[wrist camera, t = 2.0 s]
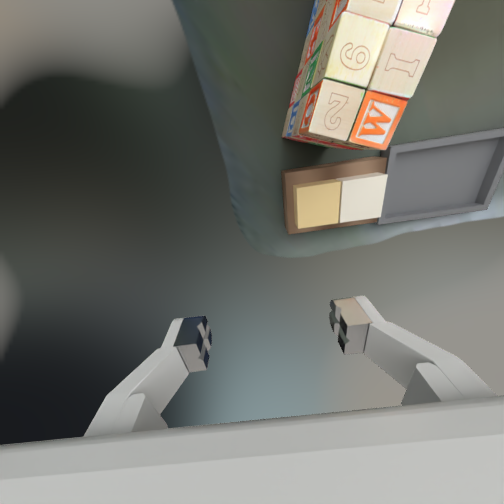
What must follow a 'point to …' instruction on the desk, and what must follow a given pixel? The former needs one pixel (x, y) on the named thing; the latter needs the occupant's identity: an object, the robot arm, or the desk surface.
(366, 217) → the cream tile
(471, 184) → the tray
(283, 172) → the walnut ledge
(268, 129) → the desk surface
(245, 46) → the desk surface
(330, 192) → the ochre tile
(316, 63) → the stack of blocks
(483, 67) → the desk surface
